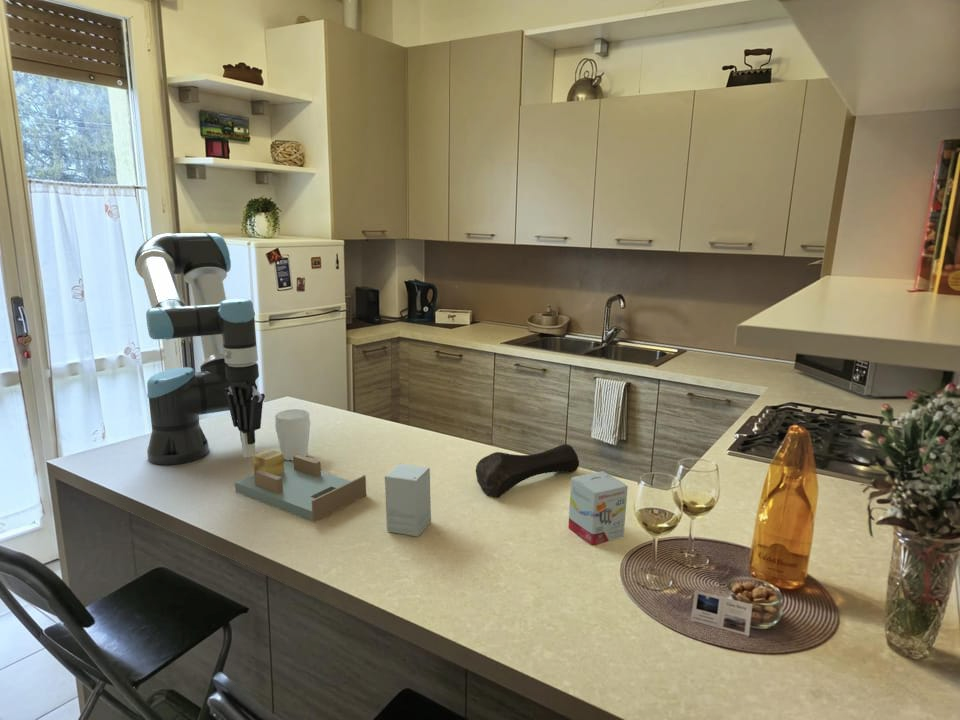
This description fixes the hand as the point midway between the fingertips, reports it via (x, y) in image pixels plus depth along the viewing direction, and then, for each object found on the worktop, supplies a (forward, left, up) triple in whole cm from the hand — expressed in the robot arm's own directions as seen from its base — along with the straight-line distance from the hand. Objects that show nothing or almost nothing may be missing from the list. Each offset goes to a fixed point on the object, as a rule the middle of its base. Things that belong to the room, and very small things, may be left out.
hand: (249, 455), depth 157 cm
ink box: (+84, +22, -6) cm, 87 cm away
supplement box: (+50, +2, -6) cm, 50 cm away
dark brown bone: (+59, +37, -6) cm, 70 cm away
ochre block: (+7, 0, -3) cm, 8 cm away
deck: (+18, 0, -6) cm, 19 cm away
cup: (-1, +15, -6) cm, 16 cm away
